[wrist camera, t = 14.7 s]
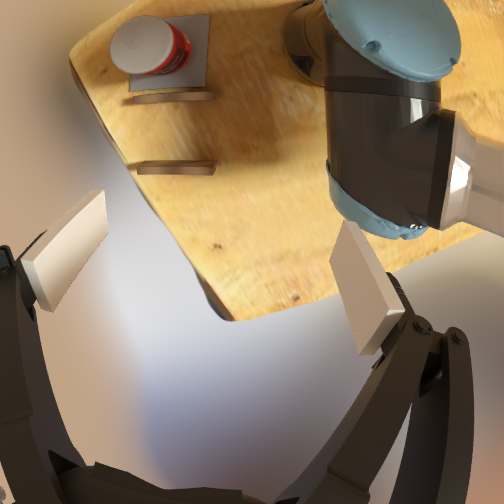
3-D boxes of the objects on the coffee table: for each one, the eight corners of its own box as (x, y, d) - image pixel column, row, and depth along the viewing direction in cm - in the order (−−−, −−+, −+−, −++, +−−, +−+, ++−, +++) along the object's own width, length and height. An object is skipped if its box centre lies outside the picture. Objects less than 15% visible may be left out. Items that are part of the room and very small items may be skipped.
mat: (210, 15, 28) (209, 14, 27) (205, 86, 34) (204, 86, 34) (134, 23, 27) (133, 23, 27) (131, 91, 34) (129, 91, 34)
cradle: (218, 91, 35) (215, 92, 32) (215, 168, 42) (212, 175, 39) (142, 94, 35) (133, 96, 32) (145, 167, 42) (137, 174, 39)
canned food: (151, 27, 28) (119, 13, 19) (200, 33, 29) (181, 17, 20) (137, 71, 32) (101, 71, 23) (184, 79, 33) (160, 78, 24)
